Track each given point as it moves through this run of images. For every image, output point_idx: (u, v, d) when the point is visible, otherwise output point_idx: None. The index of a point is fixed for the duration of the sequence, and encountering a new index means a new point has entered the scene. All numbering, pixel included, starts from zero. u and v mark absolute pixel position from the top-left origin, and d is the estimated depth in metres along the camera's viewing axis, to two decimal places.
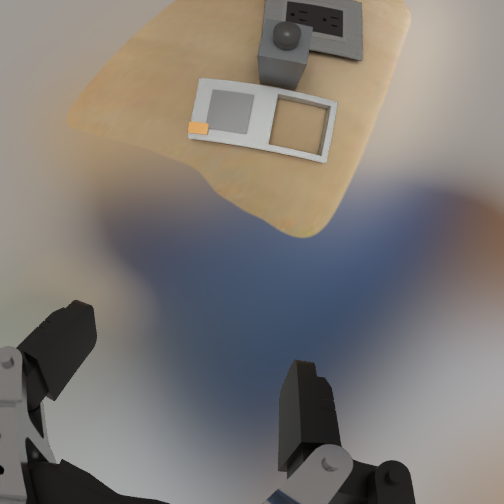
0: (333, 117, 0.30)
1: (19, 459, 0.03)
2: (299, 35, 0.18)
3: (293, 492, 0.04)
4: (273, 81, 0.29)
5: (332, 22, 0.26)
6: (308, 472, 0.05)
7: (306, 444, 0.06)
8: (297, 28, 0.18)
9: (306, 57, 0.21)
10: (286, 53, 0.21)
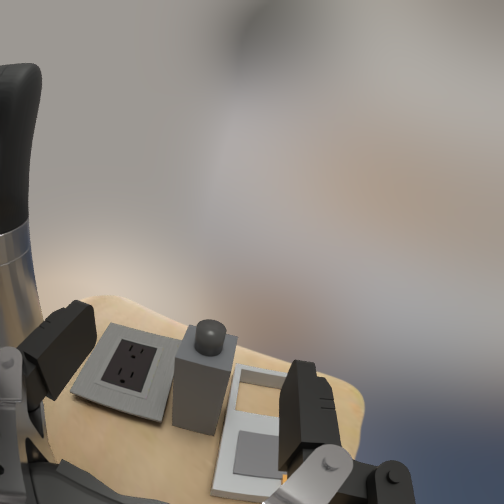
0: (252, 367, 0.32)
1: (19, 459, 0.03)
2: (215, 321, 0.23)
3: (293, 492, 0.04)
4: None
5: (136, 351, 0.31)
6: (308, 472, 0.05)
7: (306, 444, 0.06)
8: (206, 321, 0.22)
9: (229, 335, 0.24)
10: (225, 348, 0.23)
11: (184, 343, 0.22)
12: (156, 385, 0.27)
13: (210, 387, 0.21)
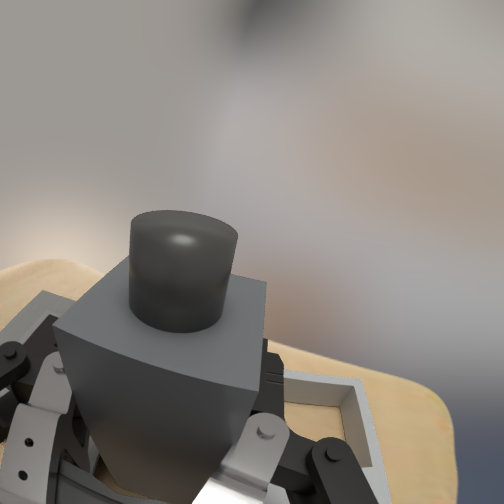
0: None
1: (48, 472, 0.03)
2: (202, 216, 0.07)
3: (236, 465, 0.05)
4: None
5: None
6: (241, 436, 0.06)
7: None
8: (172, 212, 0.07)
9: (242, 278, 0.09)
10: (234, 310, 0.07)
11: (101, 289, 0.06)
12: None
13: (182, 438, 0.06)
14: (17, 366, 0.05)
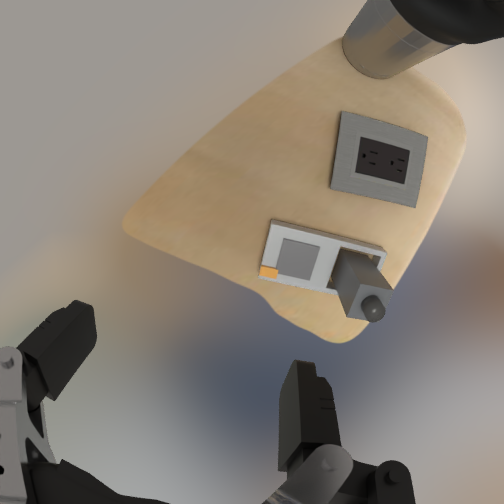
0: (381, 266, 0.37)
1: (19, 459, 0.03)
2: (382, 315, 0.28)
3: (293, 492, 0.04)
4: None
5: (398, 165, 0.32)
6: (308, 472, 0.05)
7: (306, 444, 0.06)
8: (383, 310, 0.28)
9: None
10: None
11: (374, 288, 0.29)
12: (364, 185, 0.34)
13: (346, 296, 0.33)
14: None
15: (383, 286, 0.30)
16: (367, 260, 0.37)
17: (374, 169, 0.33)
